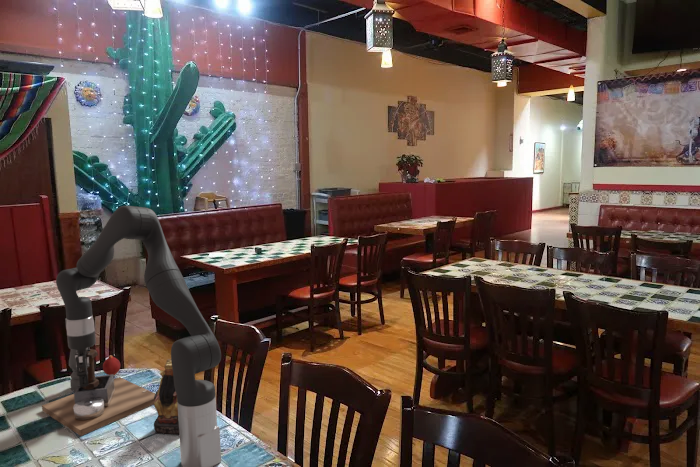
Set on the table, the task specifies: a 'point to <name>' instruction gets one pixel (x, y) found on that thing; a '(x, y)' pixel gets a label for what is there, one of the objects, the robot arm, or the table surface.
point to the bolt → (91, 371)
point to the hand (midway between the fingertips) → (85, 380)
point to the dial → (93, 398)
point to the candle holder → (73, 369)
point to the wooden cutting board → (121, 405)
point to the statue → (166, 404)
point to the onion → (111, 365)
